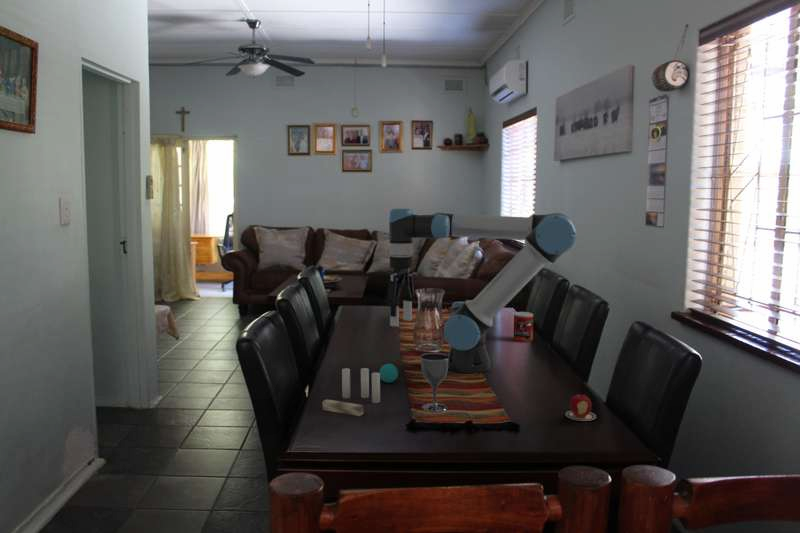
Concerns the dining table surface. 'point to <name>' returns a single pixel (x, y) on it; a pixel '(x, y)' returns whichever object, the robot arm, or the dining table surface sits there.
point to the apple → (580, 408)
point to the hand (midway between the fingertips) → (401, 322)
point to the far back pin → (346, 383)
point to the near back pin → (375, 387)
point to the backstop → (343, 407)
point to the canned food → (523, 326)
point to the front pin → (364, 383)
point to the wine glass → (434, 376)
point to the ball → (388, 373)
